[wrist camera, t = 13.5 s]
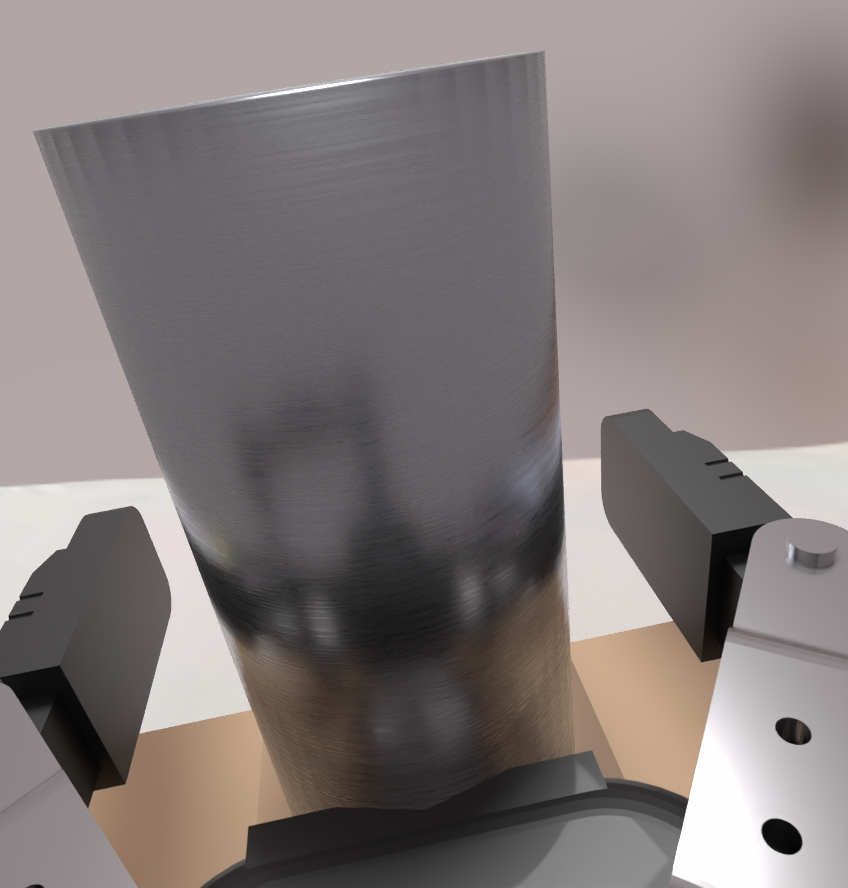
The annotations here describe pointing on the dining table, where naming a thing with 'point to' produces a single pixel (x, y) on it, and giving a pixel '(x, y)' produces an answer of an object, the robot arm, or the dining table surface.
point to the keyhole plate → (262, 799)
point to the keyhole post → (353, 406)
